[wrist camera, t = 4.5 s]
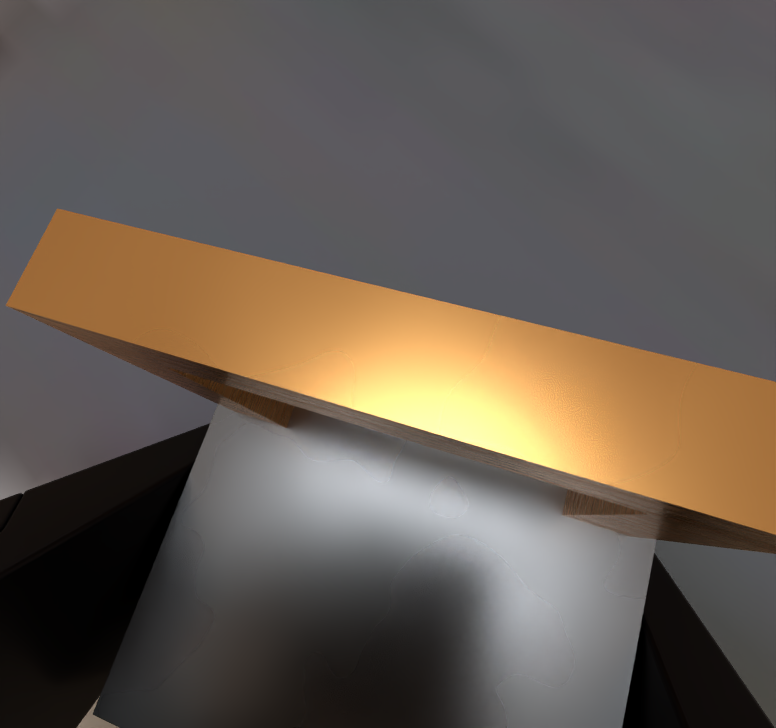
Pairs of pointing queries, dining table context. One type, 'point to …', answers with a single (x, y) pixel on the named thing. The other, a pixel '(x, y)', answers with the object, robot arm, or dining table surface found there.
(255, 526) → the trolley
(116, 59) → the dining table surface
